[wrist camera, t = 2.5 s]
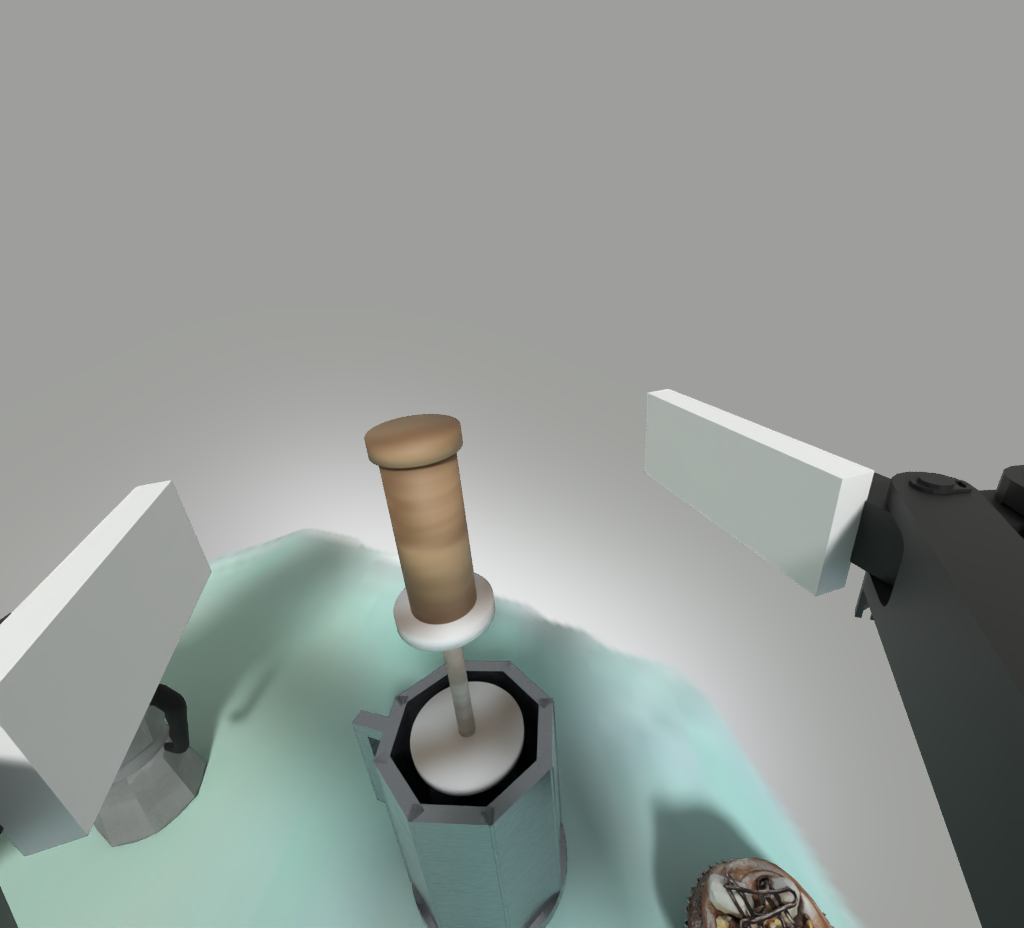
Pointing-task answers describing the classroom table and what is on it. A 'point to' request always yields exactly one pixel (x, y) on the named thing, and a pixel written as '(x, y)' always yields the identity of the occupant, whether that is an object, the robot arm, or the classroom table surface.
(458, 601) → the plunger
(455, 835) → the press carafe
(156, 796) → the coffeepot
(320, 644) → the classroom table surface
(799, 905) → the cupcake
